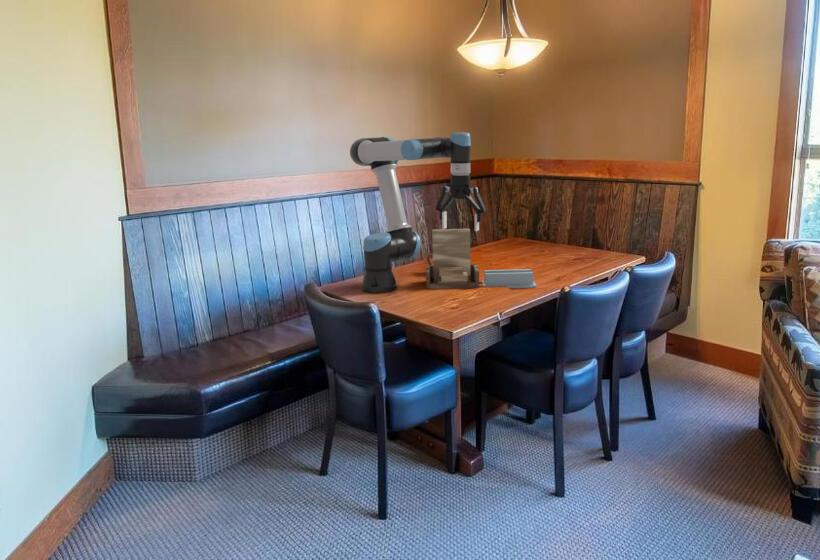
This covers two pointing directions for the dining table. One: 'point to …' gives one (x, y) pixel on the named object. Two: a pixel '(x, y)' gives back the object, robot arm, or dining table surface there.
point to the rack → (472, 284)
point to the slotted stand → (509, 278)
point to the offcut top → (450, 271)
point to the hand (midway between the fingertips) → (460, 229)
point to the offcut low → (451, 281)
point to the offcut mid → (455, 277)
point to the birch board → (451, 250)
